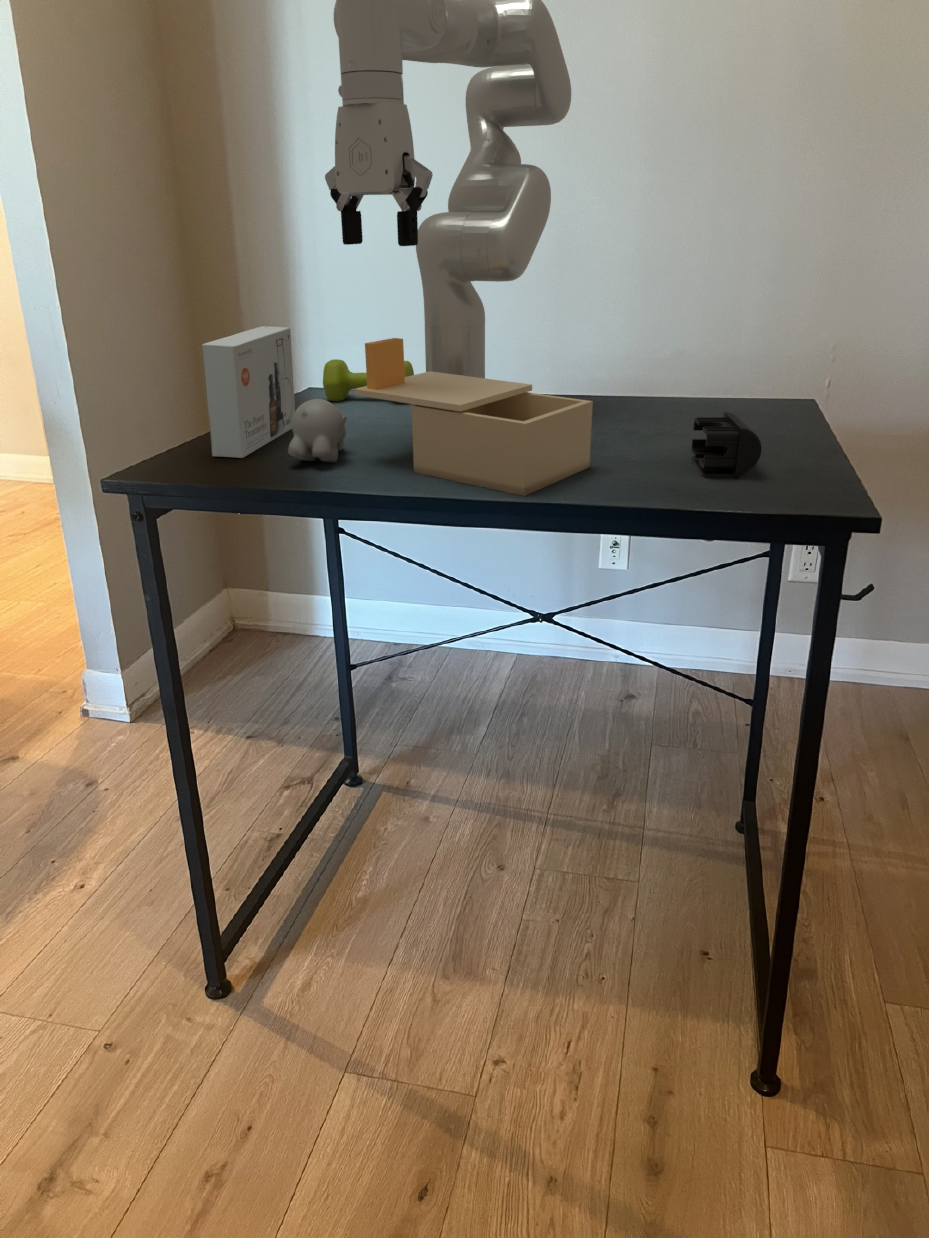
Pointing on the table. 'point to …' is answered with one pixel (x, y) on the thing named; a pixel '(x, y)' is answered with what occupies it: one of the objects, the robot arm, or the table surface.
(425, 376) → the flap
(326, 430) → the white animal toy
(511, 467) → the carton
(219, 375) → the skincare box
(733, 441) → the end cap
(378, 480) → the table surface
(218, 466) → the table surface
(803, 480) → the table surface
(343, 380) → the dumbbell
